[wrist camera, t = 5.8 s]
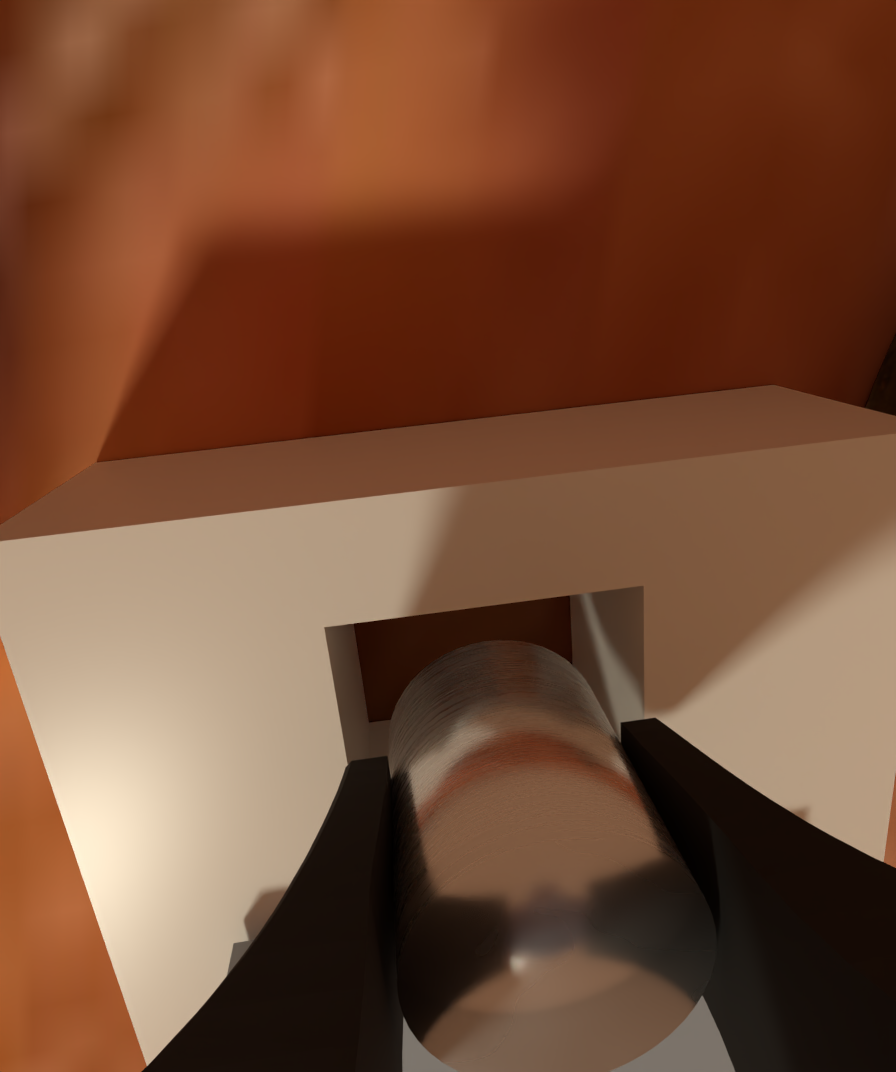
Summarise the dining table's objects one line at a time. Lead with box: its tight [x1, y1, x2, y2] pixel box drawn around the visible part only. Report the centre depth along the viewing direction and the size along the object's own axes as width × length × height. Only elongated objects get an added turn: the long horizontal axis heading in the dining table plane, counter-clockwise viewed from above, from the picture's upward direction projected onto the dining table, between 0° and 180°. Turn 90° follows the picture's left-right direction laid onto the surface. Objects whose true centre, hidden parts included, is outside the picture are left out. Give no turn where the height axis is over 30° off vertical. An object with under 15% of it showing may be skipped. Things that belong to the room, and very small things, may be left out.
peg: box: [388, 640, 717, 1072], centre depth 11 cm, size 4×4×5 cm
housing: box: [0, 385, 896, 1066], centre depth 17 cm, size 16×18×6 cm
